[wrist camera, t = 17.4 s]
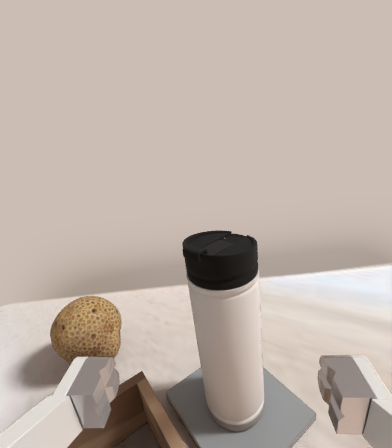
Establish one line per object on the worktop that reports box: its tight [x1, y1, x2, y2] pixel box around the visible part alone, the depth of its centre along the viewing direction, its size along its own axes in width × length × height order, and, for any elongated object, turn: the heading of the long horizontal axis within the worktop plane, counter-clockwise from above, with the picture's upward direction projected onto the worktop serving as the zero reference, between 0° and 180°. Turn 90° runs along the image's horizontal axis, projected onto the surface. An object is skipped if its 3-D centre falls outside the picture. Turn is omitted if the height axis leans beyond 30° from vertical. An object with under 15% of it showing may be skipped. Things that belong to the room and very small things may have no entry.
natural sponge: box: [50, 296, 121, 363], centre depth 36 cm, size 9×9×10 cm
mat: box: [166, 368, 316, 448], centre depth 28 cm, size 12×11×1 cm
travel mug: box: [183, 231, 264, 431], centre depth 24 cm, size 6×7×20 cm
